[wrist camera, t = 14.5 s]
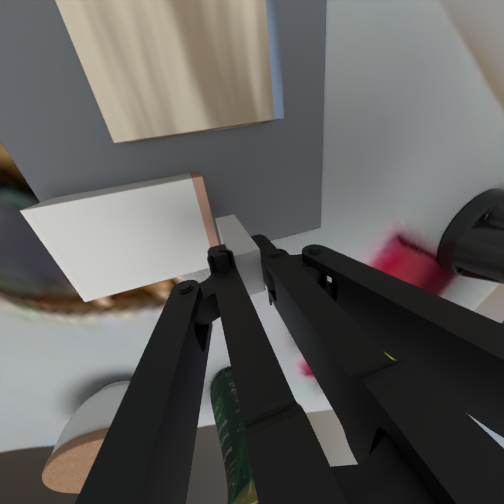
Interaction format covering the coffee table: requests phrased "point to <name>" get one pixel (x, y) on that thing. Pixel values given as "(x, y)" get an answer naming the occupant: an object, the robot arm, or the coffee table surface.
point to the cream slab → (127, 233)
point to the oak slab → (178, 63)
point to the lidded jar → (83, 439)
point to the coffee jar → (232, 440)
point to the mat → (173, 148)
